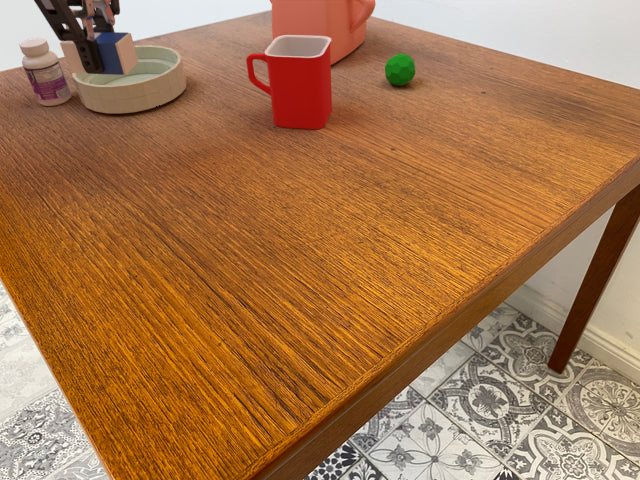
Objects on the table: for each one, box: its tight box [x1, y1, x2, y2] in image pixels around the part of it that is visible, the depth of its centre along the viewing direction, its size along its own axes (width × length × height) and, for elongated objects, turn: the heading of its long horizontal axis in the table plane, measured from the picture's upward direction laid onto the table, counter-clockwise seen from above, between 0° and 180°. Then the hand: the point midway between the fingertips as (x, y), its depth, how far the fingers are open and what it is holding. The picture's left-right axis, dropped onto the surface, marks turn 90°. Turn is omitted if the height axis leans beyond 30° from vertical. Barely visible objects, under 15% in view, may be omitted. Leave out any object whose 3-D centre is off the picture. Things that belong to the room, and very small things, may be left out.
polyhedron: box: [384, 52, 416, 87], centre depth 84 cm, size 5×5×5 cm
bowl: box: [71, 44, 188, 114], centre depth 86 cm, size 17×17×5 cm
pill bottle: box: [18, 37, 72, 107], centre depth 84 cm, size 5×5×10 cm
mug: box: [245, 35, 333, 130], centre depth 75 cm, size 12×8×11 cm
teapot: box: [269, 0, 376, 65], centre depth 96 cm, size 20×22×14 cm
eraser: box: [59, 31, 139, 75], centre depth 60 cm, size 7×4×4 cm, turn 82°
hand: (103, 64), depth 61 cm, fingers closed on eraser, 3 cm apart
